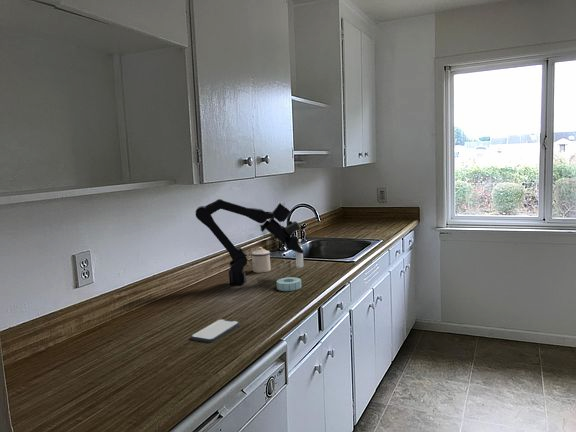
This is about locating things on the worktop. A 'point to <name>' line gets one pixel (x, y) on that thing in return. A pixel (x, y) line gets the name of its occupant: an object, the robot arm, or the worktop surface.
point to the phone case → (215, 330)
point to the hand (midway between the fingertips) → (302, 251)
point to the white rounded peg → (299, 256)
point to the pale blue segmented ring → (288, 284)
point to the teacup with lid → (260, 260)
